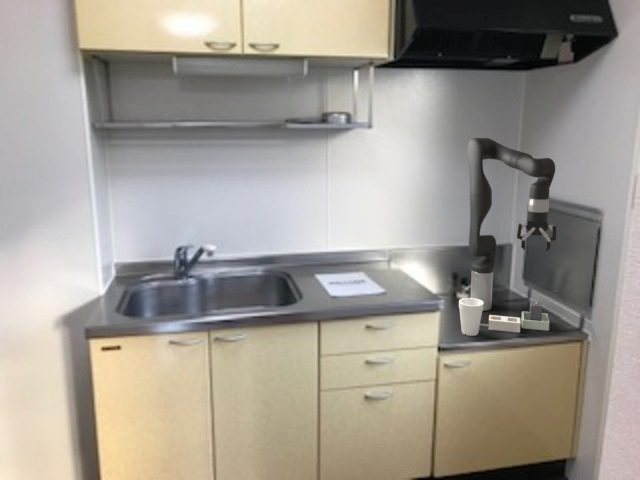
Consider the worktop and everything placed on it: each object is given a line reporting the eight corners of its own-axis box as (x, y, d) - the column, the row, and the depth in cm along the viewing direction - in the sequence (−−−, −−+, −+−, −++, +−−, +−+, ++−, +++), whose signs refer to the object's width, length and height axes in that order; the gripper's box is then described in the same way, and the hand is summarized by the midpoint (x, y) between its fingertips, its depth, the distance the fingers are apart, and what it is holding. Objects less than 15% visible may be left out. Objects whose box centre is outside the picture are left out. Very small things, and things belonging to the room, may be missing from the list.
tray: (521, 319, 226) (521, 311, 225) (546, 321, 223) (547, 313, 222) (522, 328, 217) (522, 320, 216) (548, 330, 214) (549, 322, 213)
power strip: (473, 322, 224) (474, 312, 223) (519, 326, 218) (520, 316, 217) (473, 327, 218) (473, 317, 217) (519, 332, 213) (520, 322, 212)
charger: (529, 320, 223) (530, 300, 221) (539, 321, 222) (541, 301, 220) (529, 325, 218) (531, 304, 216) (540, 327, 217) (542, 305, 215)
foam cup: (467, 338, 208) (468, 307, 205) (453, 330, 217) (454, 300, 213) (487, 334, 212) (488, 303, 209) (472, 326, 220) (473, 296, 217)
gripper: (557, 208, 210) (553, 248, 213) (518, 207, 214) (515, 246, 218) (558, 212, 203) (555, 253, 207) (519, 210, 207) (516, 251, 211)
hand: (535, 249), depth 212 cm, fingers open, 8 cm apart
